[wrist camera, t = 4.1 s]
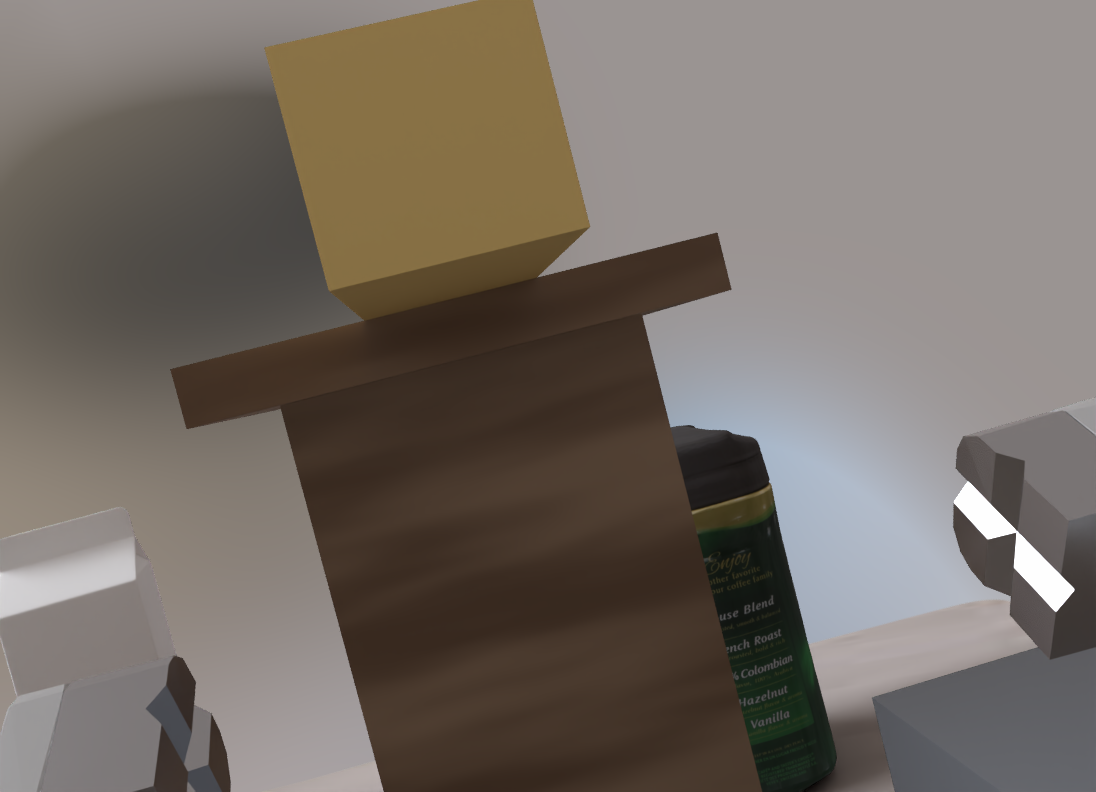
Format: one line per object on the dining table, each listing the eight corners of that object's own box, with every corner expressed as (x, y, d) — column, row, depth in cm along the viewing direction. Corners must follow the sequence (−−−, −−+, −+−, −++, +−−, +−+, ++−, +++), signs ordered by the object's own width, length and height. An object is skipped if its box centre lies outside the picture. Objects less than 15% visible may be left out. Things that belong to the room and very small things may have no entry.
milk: (247, 979, 48) (119, 510, 46) (108, 1032, 46) (-28, 549, 45) (249, 916, 53) (136, 499, 52) (126, 962, 52) (6, 533, 51)
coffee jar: (865, 782, 51) (773, 412, 50) (711, 831, 50) (615, 455, 49) (795, 718, 60) (717, 407, 60) (664, 758, 60) (583, 442, 59)
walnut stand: (952, 1182, 28) (717, 232, 27) (442, 1363, 27) (170, 369, 25) (779, 914, 42) (619, 281, 41) (438, 1024, 40) (263, 372, 39)
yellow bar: (590, 226, 17) (529, -11, 17) (329, 290, 17) (264, 47, 17) (502, 310, 39) (474, 206, 39) (386, 339, 39) (359, 234, 39)
